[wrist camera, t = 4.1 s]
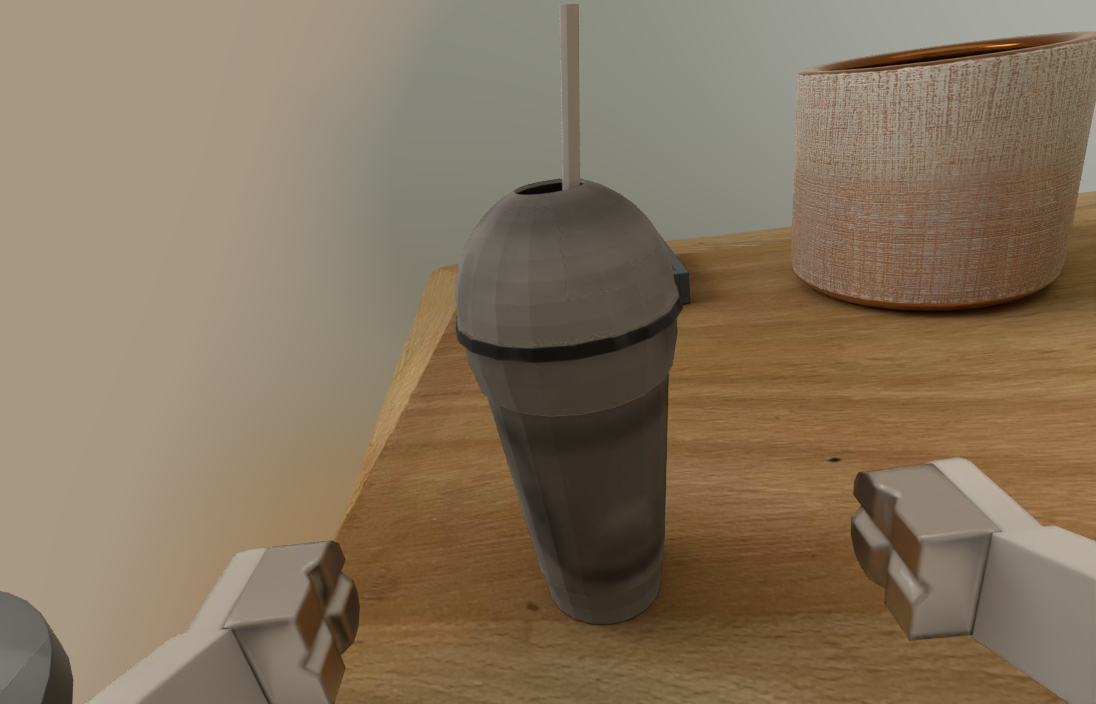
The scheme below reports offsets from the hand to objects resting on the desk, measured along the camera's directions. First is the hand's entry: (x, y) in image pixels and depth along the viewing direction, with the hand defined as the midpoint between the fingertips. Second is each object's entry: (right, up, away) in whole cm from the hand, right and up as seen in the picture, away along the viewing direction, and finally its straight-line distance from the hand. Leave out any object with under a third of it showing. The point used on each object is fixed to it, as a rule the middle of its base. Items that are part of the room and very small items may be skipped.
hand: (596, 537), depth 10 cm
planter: (+28, +9, +38) cm, 48 cm away
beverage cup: (+2, -6, +15) cm, 16 cm away
